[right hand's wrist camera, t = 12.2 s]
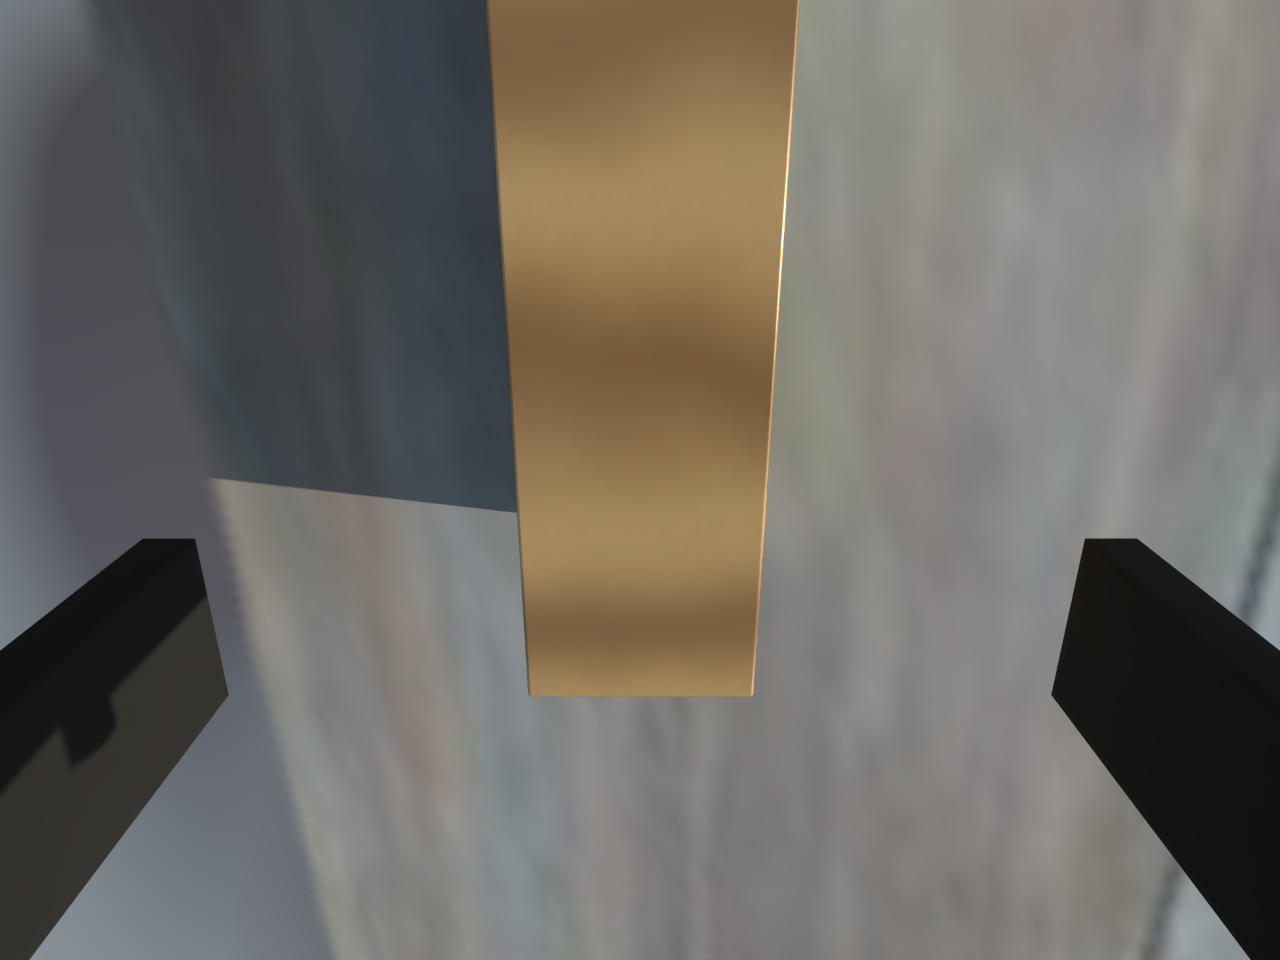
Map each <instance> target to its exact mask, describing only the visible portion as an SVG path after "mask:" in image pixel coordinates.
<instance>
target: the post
mask: <svg viewBox="0 0 1280 960" xmlns="http://www.w3.org/2000/svg"><path fill="white" fill-rule="evenodd" d="M485 3H486V19H487V35H488V51H489V68H490V84H491V100H492V116H493V132H494V148H495V164H496V180H497V197H498V213H499V229H500V245H501V261H502V277H503V293H504V310H505V326H506V342H507V358H508V374H509V390H510V406H511V422H512V439H513V455H514V471H515V487H516V503H517V519H518V535H519V551H520V568H521V584H522V600H523V616H524V632H525V648H526V664H527V680H528V694H529V696H552V697H751V696H752V695H753V689H754V674H755V659H756V644H757V630H758V615H759V600H760V585H761V570H762V556H763V541H764V526H765V511H766V497H767V482H768V467H769V452H770V438H771V423H772V408H773V393H774V379H775V364H776V349H777V334H778V320H779V305H780V290H781V275H782V260H783V246H784V231H785V216H786V201H787V187H788V172H789V157H790V142H791V128H792V113H793V98H794V83H795V69H796V54H797V39H798V24H799V9H800V0H485Z"/></svg>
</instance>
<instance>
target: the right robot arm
mask: <svg viewBox="0 0 1280 960" xmlns="http://www.w3.org/2000/svg"><path fill="white" fill-rule="evenodd" d="M227 696H228V690H227V685H226V681H225V676H224V671H223V667H222V662H221V657H220V653H219V648H218V643H217V639H216V634H215V630H214V625H213V620H212V616H211V611H210V606H209V602H208V597H207V593H206V588H205V583H204V578H203V574H202V569H201V564H200V560H199V555H198V551H197V546H196V541H195V539H142V540H141V541H139V542H138V543H137V544H136V545H134V546H133V547H132V548H130V549H129V550H128V551H127V552H125V553H124V554H123V555H121V556H120V557H119V558H118V559H116V560H115V561H114V562H113V563H111V564H110V565H109V566H108V567H106V568H105V569H104V570H102V571H101V572H100V573H99V574H97V575H96V576H95V577H94V578H92V579H91V580H90V581H88V582H87V583H86V584H85V585H83V586H82V587H81V588H80V589H78V590H77V591H76V592H74V593H73V594H72V595H71V596H69V597H68V598H67V599H65V600H64V601H63V602H62V603H60V604H59V605H58V606H57V607H55V608H54V609H53V610H51V611H50V612H49V613H48V614H46V615H45V616H44V617H43V618H41V619H40V620H39V621H37V622H36V623H35V624H34V625H32V626H31V627H30V628H29V629H27V630H26V631H25V632H23V633H22V634H21V635H20V636H18V637H17V638H16V639H14V640H13V641H12V642H11V643H9V644H8V645H7V646H6V647H4V648H3V649H2V650H0V960H29V959H30V958H31V957H32V955H33V954H34V953H35V951H36V950H37V949H38V947H39V946H40V945H41V943H42V942H43V941H44V939H45V938H46V937H47V935H48V934H49V933H50V932H51V930H52V929H53V927H54V926H55V925H56V924H57V922H58V921H59V919H60V918H61V917H62V916H63V914H64V913H65V912H66V910H67V909H68V908H69V906H70V905H71V904H72V902H73V901H74V900H75V898H76V897H77V896H78V894H79V893H80V892H81V890H82V889H83V888H84V886H85V885H86V884H87V882H88V881H89V880H90V878H91V877H92V876H93V874H94V873H95V872H96V870H97V869H98V868H99V866H100V865H101V864H102V862H103V861H104V860H105V858H106V857H107V856H108V854H109V853H110V852H111V850H112V849H113V848H114V846H115V845H116V844H117V843H118V841H119V840H120V839H121V837H122V836H123V834H124V833H125V832H126V831H127V829H128V828H129V827H130V825H131V824H132V823H133V821H134V820H135V818H136V817H137V816H138V815H139V813H140V812H141V811H142V809H143V808H144V807H145V805H146V804H147V803H148V801H149V800H150V799H151V797H152V796H153V795H154V793H155V792H156V791H157V789H158V788H159V787H160V785H161V784H162V783H163V781H164V780H165V779H166V777H167V776H168V775H169V773H170V772H171V771H172V769H173V768H174V767H175V765H176V764H177V763H178V761H179V760H180V759H181V757H182V756H183V755H184V753H185V752H186V751H187V750H188V748H189V747H190V745H191V744H192V743H193V742H194V740H195V739H196V738H197V736H198V735H199V734H200V732H201V731H202V730H203V728H204V727H205V726H206V724H207V723H208V722H209V720H210V719H211V718H212V716H213V715H214V714H215V712H216V711H217V710H218V708H219V707H220V706H221V704H222V703H223V702H224V700H225V699H226V698H227ZM1052 696H1053V698H1054V699H1055V700H1056V702H1057V703H1058V704H1059V706H1060V707H1061V708H1062V710H1063V711H1064V712H1065V714H1066V715H1067V716H1068V718H1069V719H1070V720H1071V722H1072V723H1073V724H1074V726H1075V727H1076V728H1077V730H1078V731H1079V732H1080V734H1081V735H1082V736H1083V738H1084V739H1085V740H1086V742H1087V743H1088V744H1089V746H1090V747H1091V748H1092V750H1093V751H1094V752H1095V754H1096V755H1097V756H1098V757H1099V759H1100V760H1101V761H1102V763H1103V764H1104V765H1105V767H1106V768H1107V769H1108V771H1109V772H1110V773H1111V775H1112V776H1113V777H1114V779H1115V780H1116V781H1117V783H1118V784H1119V785H1120V787H1121V788H1122V789H1123V791H1124V792H1125V793H1126V795H1127V796H1128V797H1129V799H1130V800H1131V801H1132V803H1133V804H1134V805H1135V807H1136V808H1137V809H1138V811H1139V812H1140V813H1141V815H1142V816H1143V817H1144V819H1145V820H1146V821H1147V823H1148V824H1149V825H1150V827H1151V828H1152V829H1153V831H1154V832H1155V833H1156V835H1157V836H1158V837H1159V839H1160V840H1161V841H1162V843H1163V844H1164V845H1165V846H1166V848H1167V849H1168V850H1169V852H1170V853H1171V854H1172V856H1173V857H1174V858H1175V860H1176V861H1177V862H1178V864H1179V865H1180V866H1181V868H1182V869H1183V870H1184V872H1185V873H1186V874H1187V876H1188V877H1189V878H1190V880H1191V881H1192V882H1193V884H1194V885H1195V886H1196V888H1197V889H1198V890H1199V892H1200V893H1201V894H1202V896H1203V897H1204V898H1205V900H1206V901H1207V902H1208V904H1209V905H1210V906H1211V908H1212V909H1213V910H1214V912H1215V913H1216V914H1217V916H1218V917H1219V918H1220V920H1221V921H1222V922H1223V924H1224V925H1225V926H1226V928H1227V929H1228V930H1229V932H1230V933H1231V934H1232V935H1233V937H1234V938H1235V939H1236V941H1237V942H1238V943H1239V945H1240V946H1241V947H1242V949H1243V950H1244V951H1245V953H1246V954H1247V955H1248V957H1249V958H1250V959H1251V960H1280V650H1278V649H1277V648H1276V647H1274V646H1273V645H1272V644H1271V643H1269V642H1268V641H1267V640H1266V639H1264V638H1263V637H1262V636H1260V635H1259V634H1258V633H1257V632H1255V631H1254V630H1253V629H1252V628H1250V627H1249V626H1248V625H1246V624H1245V623H1244V622H1243V621H1241V620H1240V619H1239V618H1237V617H1236V616H1235V615H1234V614H1232V613H1231V612H1230V611H1229V610H1227V609H1226V608H1225V607H1223V606H1222V605H1221V604H1220V603H1218V602H1217V601H1216V600H1215V599H1213V598H1212V597H1211V596H1209V595H1208V594H1207V593H1206V592H1204V591H1203V590H1202V589H1201V588H1199V587H1198V586H1197V585H1195V584H1194V583H1193V582H1192V581H1190V580H1189V579H1188V578H1187V577H1185V576H1184V575H1183V574H1181V573H1180V572H1179V571H1178V570H1176V569H1175V568H1174V567H1173V566H1171V565H1170V564H1169V563H1167V562H1166V561H1165V560H1164V559H1162V558H1161V557H1160V556H1159V555H1157V554H1156V553H1155V552H1153V551H1152V550H1151V549H1150V548H1148V547H1147V546H1146V545H1145V544H1143V543H1142V542H1141V541H1139V540H1138V539H1085V541H1084V546H1083V551H1082V555H1081V560H1080V564H1079V569H1078V574H1077V578H1076V583H1075V588H1074V592H1073V597H1072V602H1071V606H1070V611H1069V616H1068V620H1067V625H1066V630H1065V634H1064V639H1063V643H1062V648H1061V653H1060V657H1059V662H1058V667H1057V671H1056V676H1055V681H1054V685H1053V690H1052Z"/></svg>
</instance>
